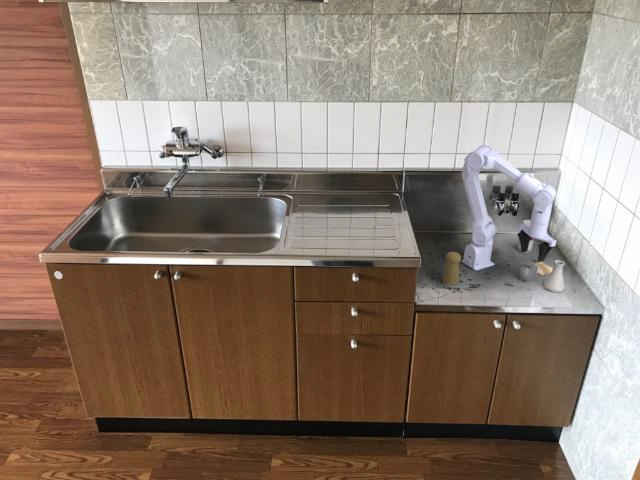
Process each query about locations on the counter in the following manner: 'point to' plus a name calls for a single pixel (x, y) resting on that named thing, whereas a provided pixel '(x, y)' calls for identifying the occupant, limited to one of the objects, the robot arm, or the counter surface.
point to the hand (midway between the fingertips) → (532, 256)
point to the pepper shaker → (451, 269)
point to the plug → (528, 272)
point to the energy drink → (527, 223)
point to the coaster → (543, 268)
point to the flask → (555, 278)
